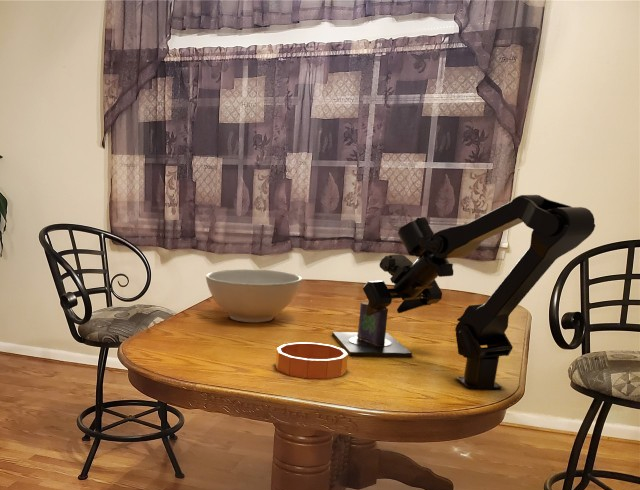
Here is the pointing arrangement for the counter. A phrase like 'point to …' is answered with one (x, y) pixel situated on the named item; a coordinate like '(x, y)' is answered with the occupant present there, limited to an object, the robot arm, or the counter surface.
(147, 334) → the counter surface
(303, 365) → the orange round tray
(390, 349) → the hob plate
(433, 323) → the counter surface
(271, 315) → the decorative bowl
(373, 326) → the flask
